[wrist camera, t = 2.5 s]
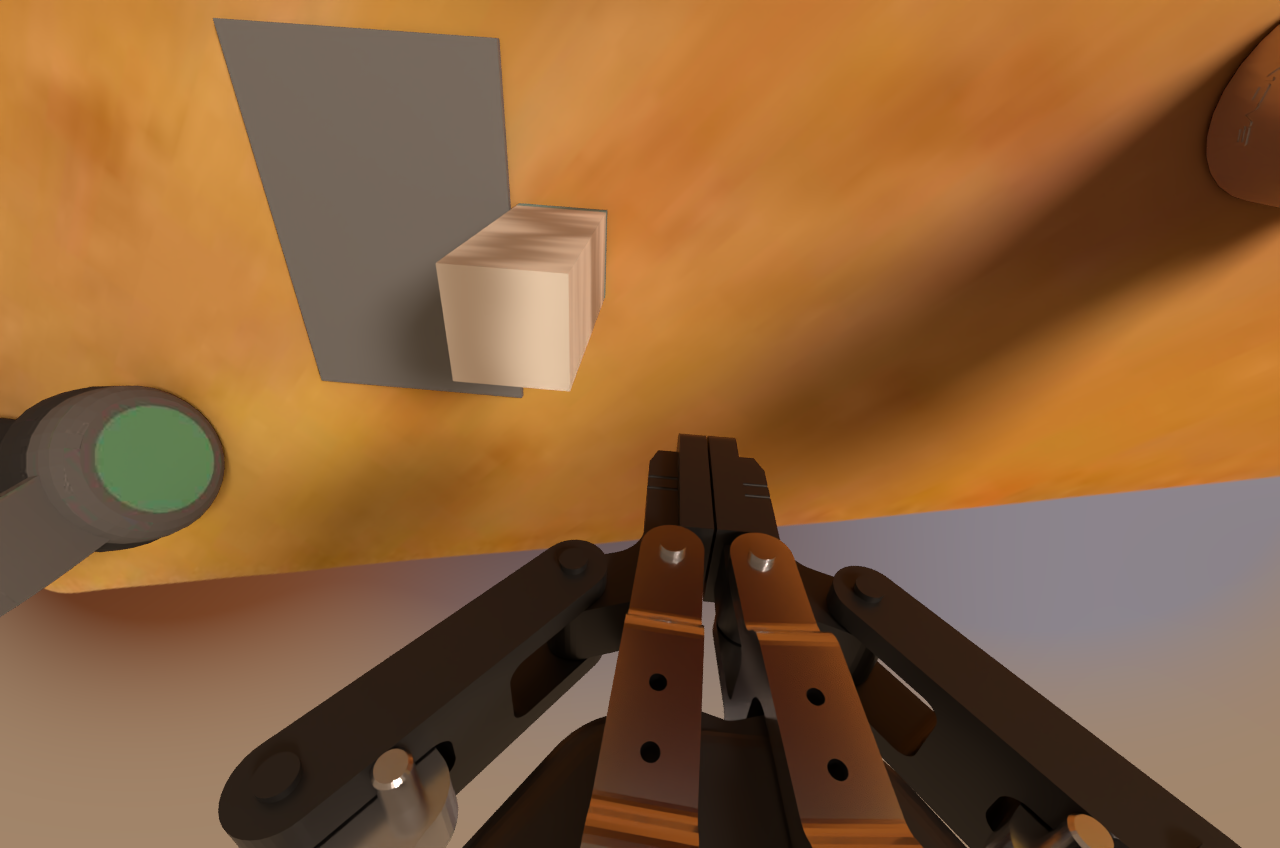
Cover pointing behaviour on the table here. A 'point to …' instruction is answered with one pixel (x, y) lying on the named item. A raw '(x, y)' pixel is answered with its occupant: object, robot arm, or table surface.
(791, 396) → the table surface
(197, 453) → the headphones
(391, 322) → the mat
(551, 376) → the cream block
